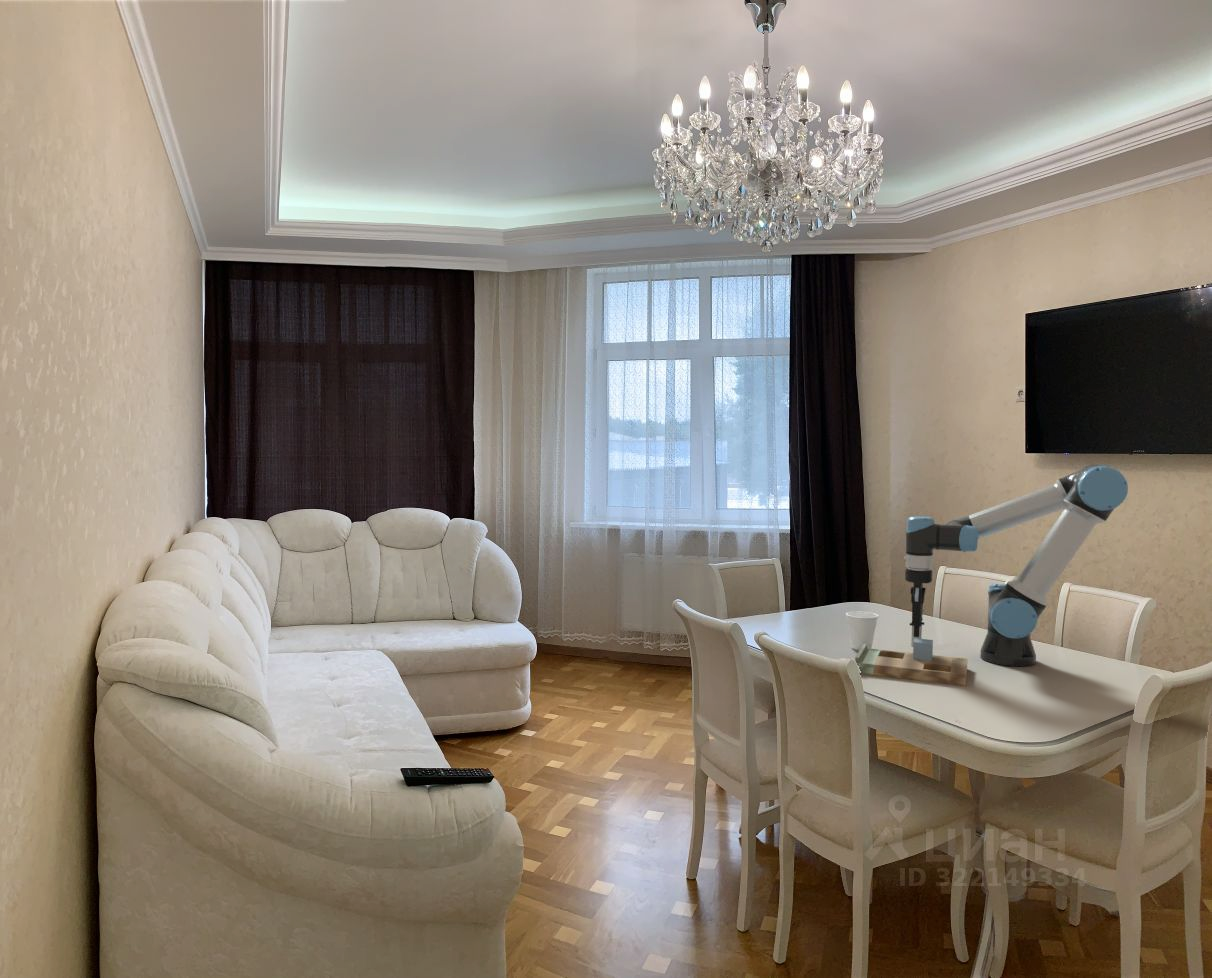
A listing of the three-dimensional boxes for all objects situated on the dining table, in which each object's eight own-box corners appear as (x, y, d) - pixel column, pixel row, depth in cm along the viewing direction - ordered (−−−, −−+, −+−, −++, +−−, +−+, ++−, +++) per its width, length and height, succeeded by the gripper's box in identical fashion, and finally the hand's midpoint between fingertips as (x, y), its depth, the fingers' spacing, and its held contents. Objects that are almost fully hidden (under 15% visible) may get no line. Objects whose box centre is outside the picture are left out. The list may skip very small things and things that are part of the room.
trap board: (967, 669, 240) (967, 653, 239) (965, 685, 223) (966, 669, 223) (863, 657, 252) (863, 643, 251) (854, 672, 235) (855, 657, 235)
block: (932, 656, 241) (932, 639, 241) (931, 661, 237) (932, 643, 237) (914, 654, 244) (914, 638, 243) (913, 659, 239) (913, 642, 239)
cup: (879, 653, 257) (880, 618, 256) (846, 651, 259) (847, 617, 258) (875, 645, 266) (876, 612, 266) (843, 644, 268) (844, 610, 268)
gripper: (907, 564, 253) (904, 640, 254) (903, 570, 241) (901, 650, 243) (933, 566, 250) (931, 643, 251) (931, 572, 238) (928, 653, 239)
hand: (916, 646), depth 247 cm, fingers closed
